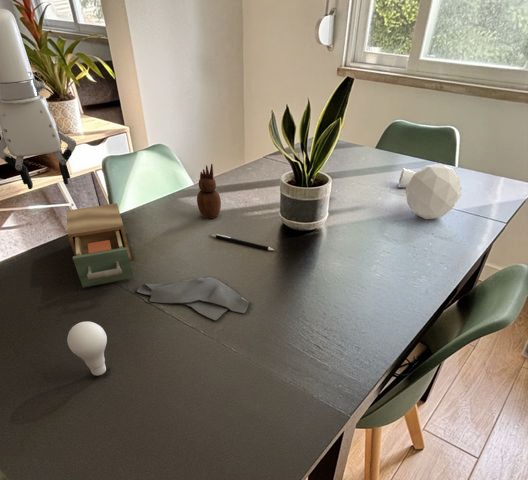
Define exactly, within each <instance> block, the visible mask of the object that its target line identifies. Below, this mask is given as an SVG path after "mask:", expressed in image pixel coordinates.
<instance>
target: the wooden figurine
mask: <svg viewBox="0 0 528 480" xmlns="http://www.w3.org/2000/svg"><path fill="white" fill-rule="evenodd" d="M198 188H199V191H198V193H197V196H196V204H197V208H198V211H199V213H200V214H201V216H202V217H203V218H205V219H215V218H217V217H218V216H220V215H219V214H220V213H221V208H222V207H221V206H222V200H221V195H220V193H219V192H218V191H217V190H216V188H217V183H216V180H215V178H214V166H213V163H211V165H210V169H209V167H208V165H207V164H206V165H205V169H204V168H203V169H202V171H200V173H199V180H198Z"/></svg>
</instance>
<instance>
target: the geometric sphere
mask: <svg viewBox="0 0 528 480" xmlns="http://www.w3.org/2000/svg"><path fill="white" fill-rule="evenodd" d="M416 172H417V173H415V174H414V175H413V177H412V179H411V180H410V182H409V184H408V186H407V187H405V195H406V203H407V205H408V208H409V209H410V211H411V213H412V214H413V215H415V216H417V217H420V218H422V219H423V220H434V219H440V218H443V217H444V216H446V215H447V214H448V213H449V212H450V211H452V210H453V209H454V207H455V206H456V204H457V203H458V201H459V200H460V198H461V196H462V191H461V190H462V189H461V188H462V187H461V180H460V177H459V175H458V173H457V172H456V171H455V169H454V168H452V167H450V166H448V165H445V164H443V163H440V162H439V163H434V164H428V165H423V166H422V167H421V168H420V169H419V170H417V171H416Z"/></svg>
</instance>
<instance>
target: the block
mask: <svg viewBox="0 0 528 480" xmlns="http://www.w3.org/2000/svg"><path fill="white" fill-rule="evenodd" d="M107 250H112V247H111V244H110V240H106V241H100V242H94V243H88V252H89V253H95V252H101V251H107Z"/></svg>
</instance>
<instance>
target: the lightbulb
mask: <svg viewBox="0 0 528 480" xmlns="http://www.w3.org/2000/svg"><path fill="white" fill-rule="evenodd" d="M107 337H108V336H107V333H106V331H105V330H104V328H103V327H102V326H101V325H100V324H98V323H96V322H93V321H81V322H78V323H76V324H75V325H73V326H72V327H71V328H70V330H69V331H68V334H67V340H66V342H67V346H68V348H69V349H70V351H71V353H73V354H74V355H76V356H77V357H78V358H80V359H82V360H83V362H84V363H85V365H86V367H88V369H89V370H90V373H91V374H92V375H93V376H98V377H99V376H102V375H104V374H105V373H106V371H107V367H106V363H105V362H106V358H105V350H106V346H107V343H108V338H107Z"/></svg>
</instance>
